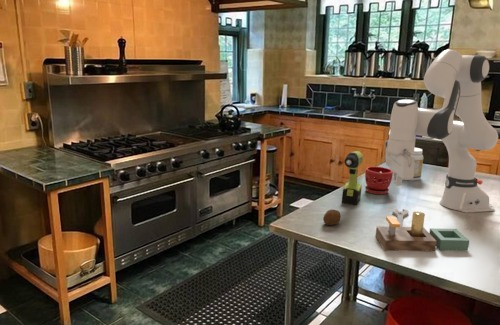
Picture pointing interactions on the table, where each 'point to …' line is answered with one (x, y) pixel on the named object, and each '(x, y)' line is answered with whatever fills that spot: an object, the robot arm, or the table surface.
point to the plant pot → (378, 179)
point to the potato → (332, 217)
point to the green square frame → (449, 239)
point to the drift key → (392, 225)
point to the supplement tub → (417, 163)
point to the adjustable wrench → (400, 215)
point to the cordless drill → (352, 179)
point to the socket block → (405, 240)
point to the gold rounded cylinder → (417, 224)
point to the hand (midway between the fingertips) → (397, 184)
